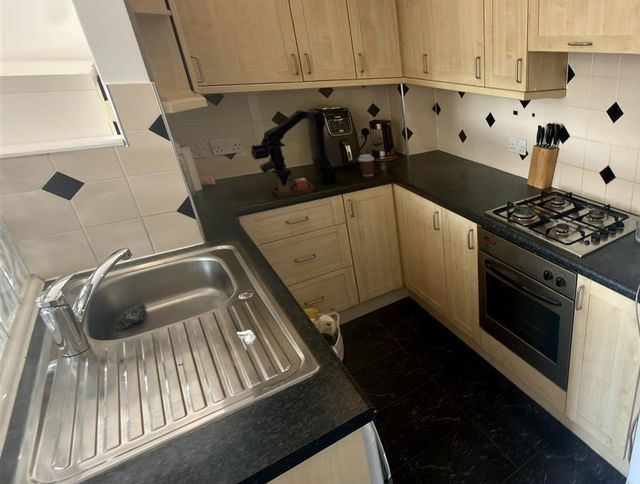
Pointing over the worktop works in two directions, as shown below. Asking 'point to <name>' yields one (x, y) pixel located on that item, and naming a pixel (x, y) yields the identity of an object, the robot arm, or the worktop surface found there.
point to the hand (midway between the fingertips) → (283, 184)
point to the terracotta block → (300, 183)
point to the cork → (283, 188)
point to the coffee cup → (366, 164)
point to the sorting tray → (293, 190)
